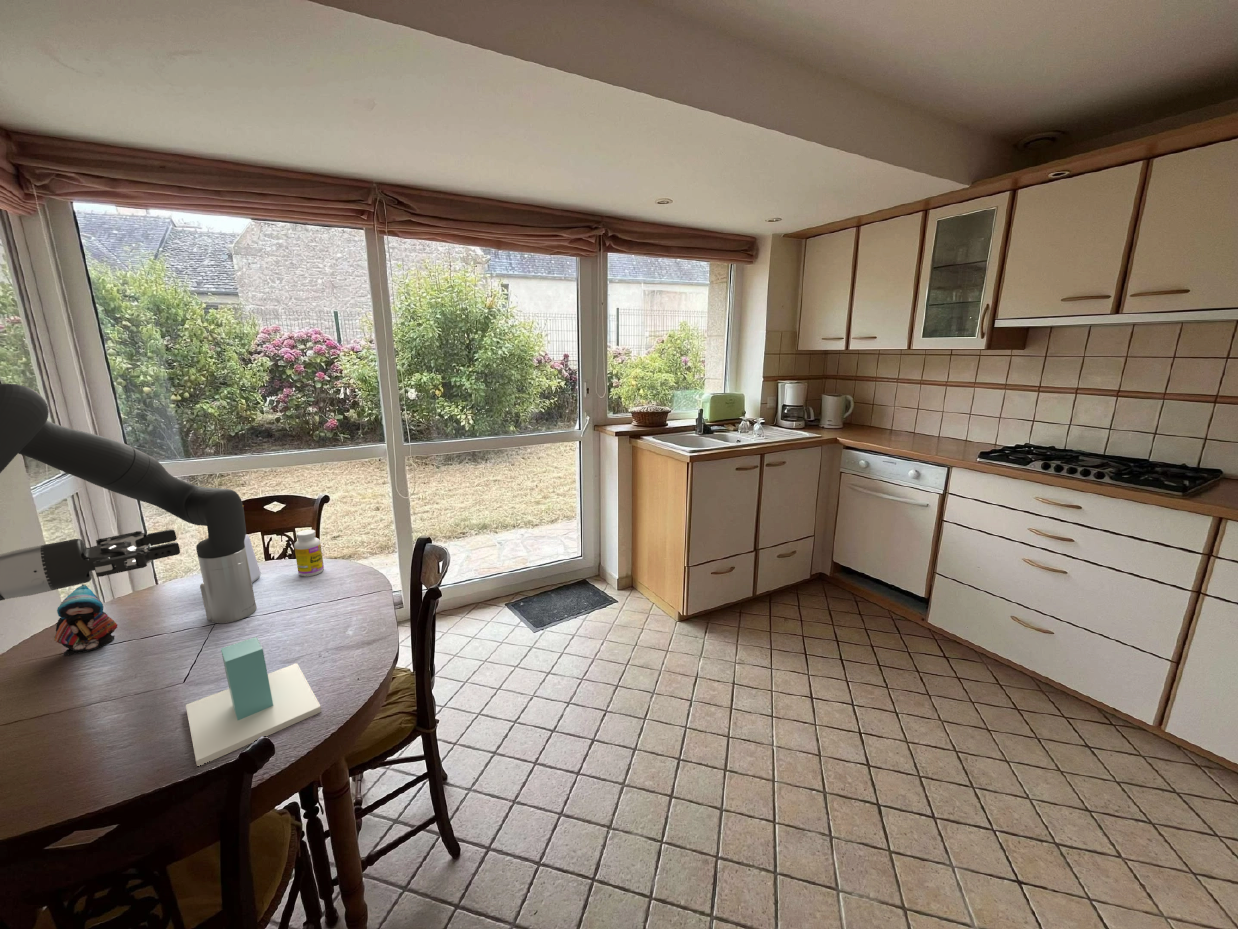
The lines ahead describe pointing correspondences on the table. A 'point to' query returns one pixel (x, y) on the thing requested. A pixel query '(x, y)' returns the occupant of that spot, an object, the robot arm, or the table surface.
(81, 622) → the figurine
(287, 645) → the table surface
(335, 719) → the table surface
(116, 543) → the robot arm
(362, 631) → the table surface
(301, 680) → the stub base
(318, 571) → the supplement bottle
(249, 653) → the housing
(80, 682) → the table surface
